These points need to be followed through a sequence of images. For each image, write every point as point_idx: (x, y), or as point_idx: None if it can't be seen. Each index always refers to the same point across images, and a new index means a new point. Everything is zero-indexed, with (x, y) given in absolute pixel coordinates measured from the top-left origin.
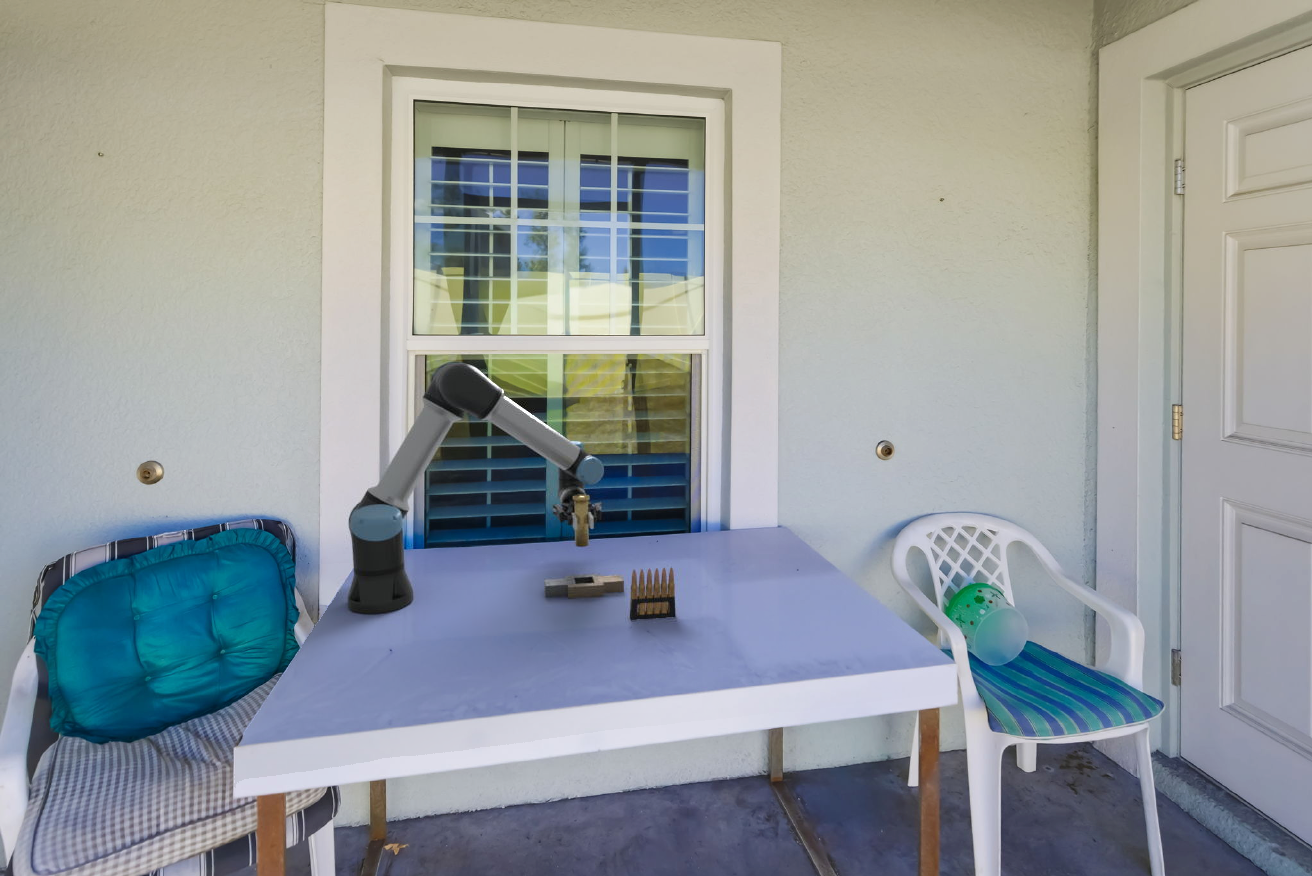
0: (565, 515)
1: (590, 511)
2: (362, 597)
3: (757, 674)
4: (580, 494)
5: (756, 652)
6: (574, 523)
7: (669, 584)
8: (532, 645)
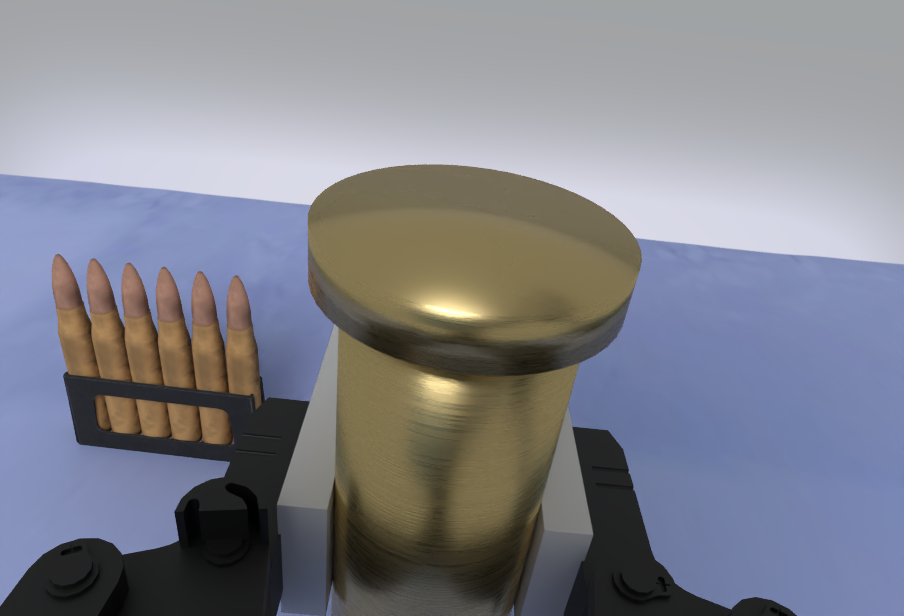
0: (686, 596)
1: (266, 524)
2: None
3: (153, 204)
4: (475, 301)
5: (73, 242)
6: None
7: (88, 318)
8: (614, 385)
